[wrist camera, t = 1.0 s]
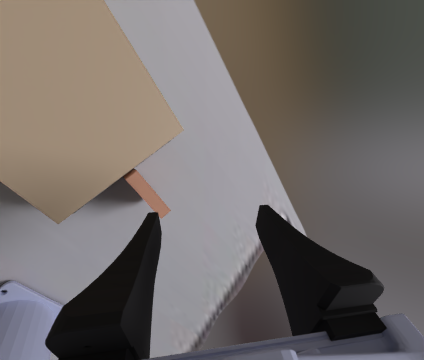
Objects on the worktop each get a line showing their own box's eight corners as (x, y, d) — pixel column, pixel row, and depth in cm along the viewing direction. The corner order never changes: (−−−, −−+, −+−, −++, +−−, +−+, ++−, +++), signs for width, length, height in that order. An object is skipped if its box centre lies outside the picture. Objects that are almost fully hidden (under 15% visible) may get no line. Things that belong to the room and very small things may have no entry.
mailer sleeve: (-140, 38, 12) (-260, -12, 8) (60, -29, 16) (50, -86, 12) (64, 204, 19) (58, 224, 15) (166, 130, 23) (183, 130, 19)
